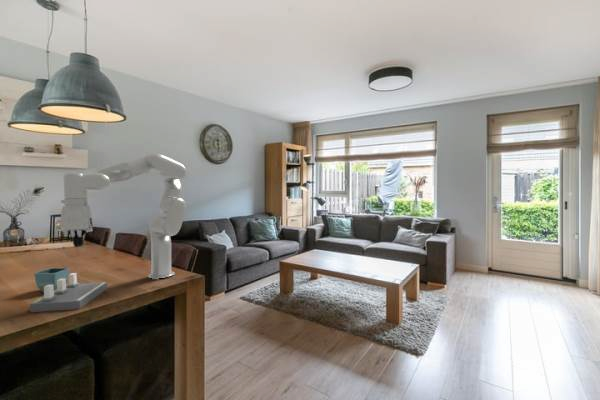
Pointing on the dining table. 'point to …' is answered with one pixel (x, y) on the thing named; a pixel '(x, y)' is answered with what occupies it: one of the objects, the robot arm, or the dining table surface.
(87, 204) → the robot arm
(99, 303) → the dining table surface
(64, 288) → the middle breaker
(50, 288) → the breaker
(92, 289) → the grey flat block
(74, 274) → the cylinder
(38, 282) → the flower pot
